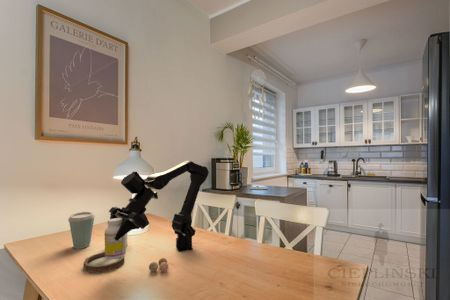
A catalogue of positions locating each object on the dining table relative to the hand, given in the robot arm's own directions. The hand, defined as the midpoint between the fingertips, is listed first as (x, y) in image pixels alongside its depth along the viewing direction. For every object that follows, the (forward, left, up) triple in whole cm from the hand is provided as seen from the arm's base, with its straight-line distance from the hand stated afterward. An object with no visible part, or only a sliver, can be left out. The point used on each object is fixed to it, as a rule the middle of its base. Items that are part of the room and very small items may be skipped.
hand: (111, 237), depth 83 cm
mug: (+1, -29, -13) cm, 32 cm away
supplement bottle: (-2, 0, -7) cm, 7 cm away
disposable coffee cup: (+16, -35, -13) cm, 41 cm away
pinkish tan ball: (-18, +3, -12) cm, 22 cm away
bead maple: (-14, +1, -12) cm, 19 cm away
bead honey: (-18, -1, -12) cm, 21 cm away
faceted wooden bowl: (+3, -11, -13) cm, 17 cm away
